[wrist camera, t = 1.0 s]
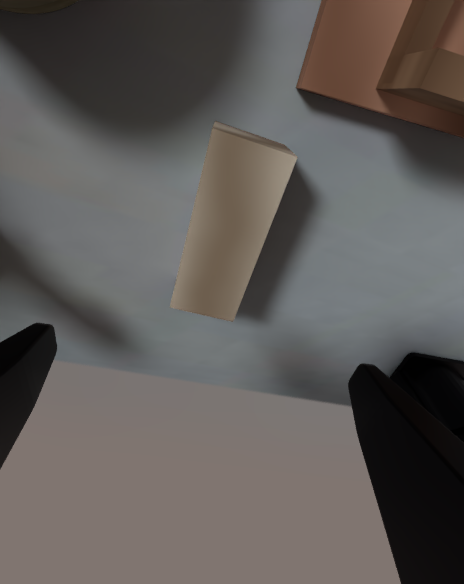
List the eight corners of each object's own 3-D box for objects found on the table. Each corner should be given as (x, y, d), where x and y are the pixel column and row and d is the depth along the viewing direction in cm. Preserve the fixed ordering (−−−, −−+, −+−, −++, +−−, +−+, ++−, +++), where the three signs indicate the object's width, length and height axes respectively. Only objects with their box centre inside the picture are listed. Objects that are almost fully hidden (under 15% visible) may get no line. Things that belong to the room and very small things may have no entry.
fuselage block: (283, 144, 17) (297, 157, 14) (232, 287, 22) (232, 321, 19) (215, 120, 16) (212, 128, 13) (178, 274, 22) (169, 307, 18)
